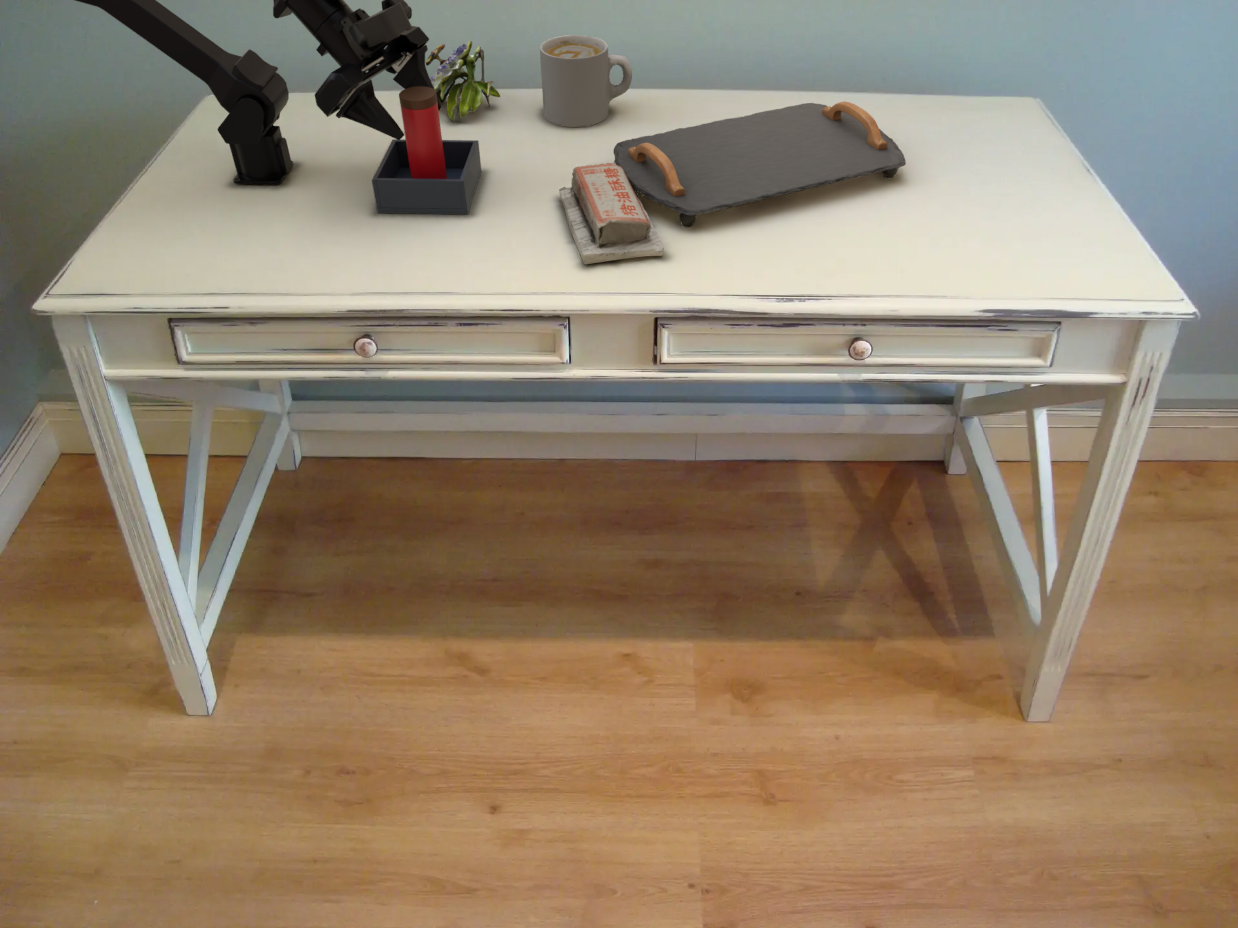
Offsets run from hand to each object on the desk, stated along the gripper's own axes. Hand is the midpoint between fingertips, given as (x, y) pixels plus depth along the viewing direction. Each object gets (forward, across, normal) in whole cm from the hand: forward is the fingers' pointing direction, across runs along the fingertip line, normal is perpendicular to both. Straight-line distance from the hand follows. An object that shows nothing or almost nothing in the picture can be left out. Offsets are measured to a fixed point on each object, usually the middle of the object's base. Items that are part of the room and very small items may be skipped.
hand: (421, 123), depth 130 cm
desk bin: (+7, 0, +7) cm, 9 cm away
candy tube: (+6, 0, +6) cm, 9 cm away
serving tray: (+34, +22, -20) cm, 45 cm away
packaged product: (+25, 0, -12) cm, 28 cm away
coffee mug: (+13, +32, +1) cm, 34 cm away
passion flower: (0, +27, +14) cm, 30 cm away
